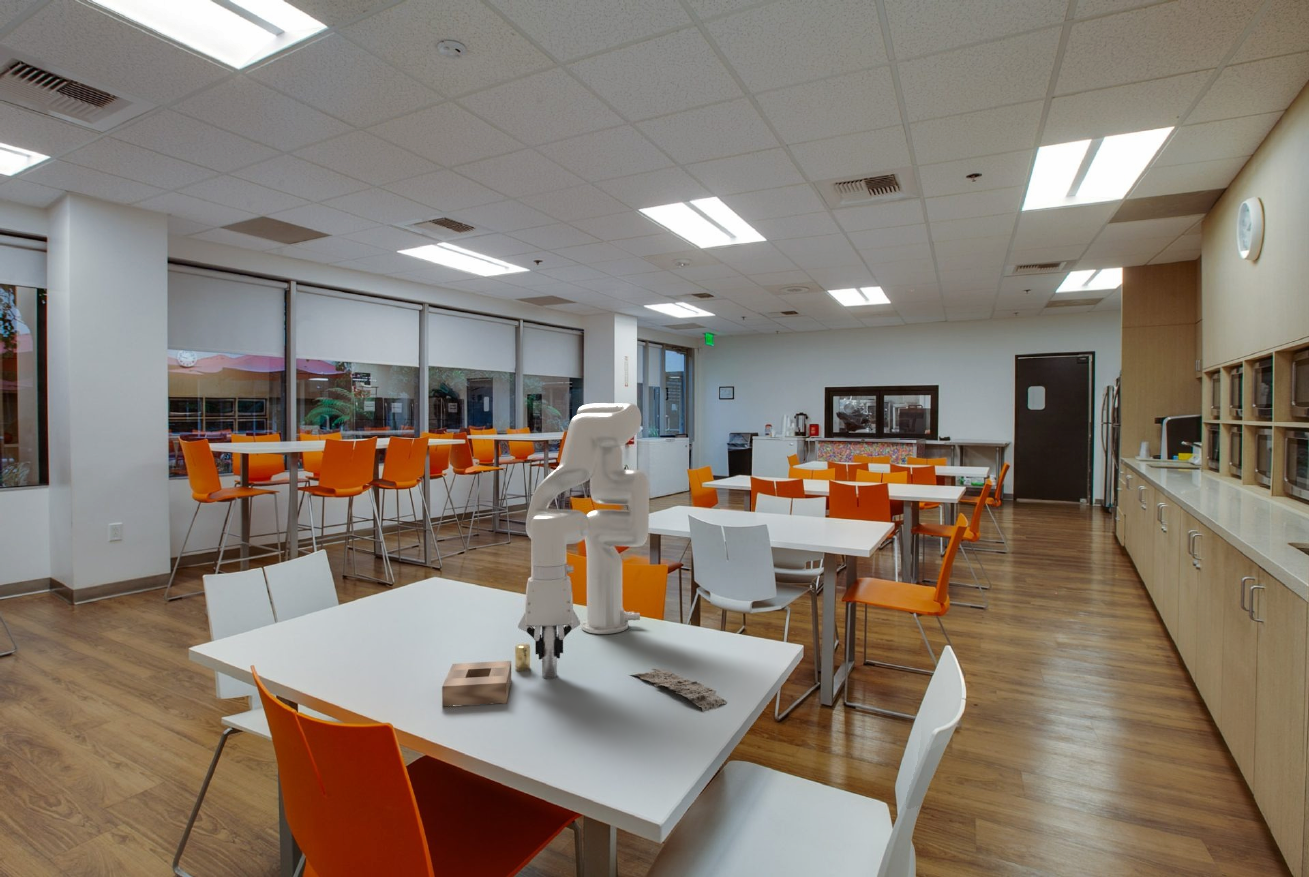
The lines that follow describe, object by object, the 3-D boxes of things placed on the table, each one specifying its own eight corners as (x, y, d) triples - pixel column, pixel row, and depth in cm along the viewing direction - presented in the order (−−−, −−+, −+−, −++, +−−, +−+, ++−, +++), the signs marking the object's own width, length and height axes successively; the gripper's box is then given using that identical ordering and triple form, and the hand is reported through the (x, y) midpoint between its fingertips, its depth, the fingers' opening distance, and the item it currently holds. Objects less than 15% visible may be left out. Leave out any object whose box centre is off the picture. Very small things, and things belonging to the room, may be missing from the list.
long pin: (557, 672, 140) (556, 617, 140) (557, 677, 137) (556, 621, 137) (542, 673, 140) (542, 618, 140) (541, 678, 136) (541, 622, 136)
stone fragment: (707, 719, 119) (738, 701, 127) (707, 704, 119) (738, 687, 127) (613, 681, 136) (645, 668, 144) (613, 668, 136) (645, 655, 144)
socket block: (511, 679, 136) (511, 660, 136) (506, 703, 124) (506, 682, 124) (452, 682, 134) (452, 663, 134) (442, 707, 123) (442, 686, 123)
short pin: (530, 665, 144) (530, 643, 144) (529, 670, 141) (529, 648, 141) (515, 666, 144) (515, 644, 144) (514, 671, 141) (514, 648, 141)
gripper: (586, 567, 143) (587, 649, 143) (511, 569, 141) (511, 652, 141) (588, 574, 135) (588, 660, 136) (508, 577, 133) (509, 665, 133)
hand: (549, 655), depth 138 cm, fingers closed on long pin, 3 cm apart
